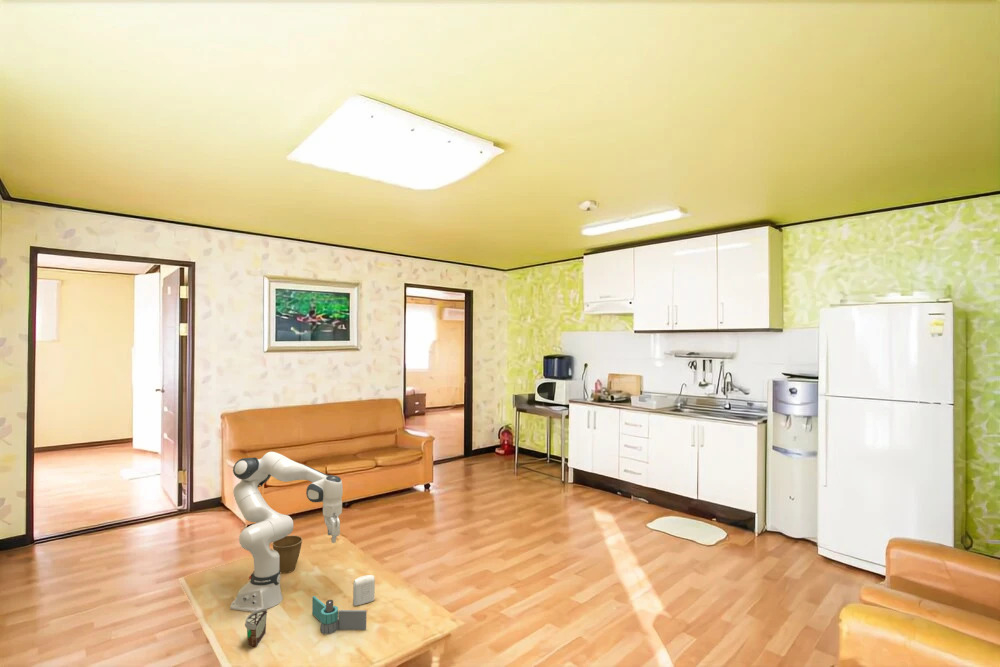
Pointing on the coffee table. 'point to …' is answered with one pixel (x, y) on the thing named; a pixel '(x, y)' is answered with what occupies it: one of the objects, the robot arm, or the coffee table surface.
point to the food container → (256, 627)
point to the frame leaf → (346, 621)
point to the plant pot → (288, 552)
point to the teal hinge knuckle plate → (323, 612)
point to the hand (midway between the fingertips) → (331, 538)
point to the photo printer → (363, 590)
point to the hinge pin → (329, 606)
